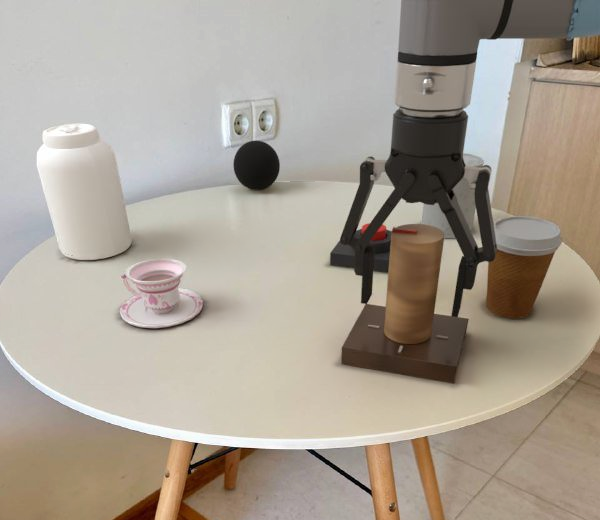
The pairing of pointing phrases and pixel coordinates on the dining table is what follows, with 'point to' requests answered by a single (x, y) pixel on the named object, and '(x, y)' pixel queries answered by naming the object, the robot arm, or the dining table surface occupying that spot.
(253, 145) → the decorative ball
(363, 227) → the red button
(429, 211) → the gray concrete cylinder
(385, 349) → the dark brown wooden base
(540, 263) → the disposable coffee cup
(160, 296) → the teacup
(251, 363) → the dining table surface
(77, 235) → the white lidded jar
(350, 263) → the button base
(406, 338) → the wooden cylinder
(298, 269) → the dining table surface
